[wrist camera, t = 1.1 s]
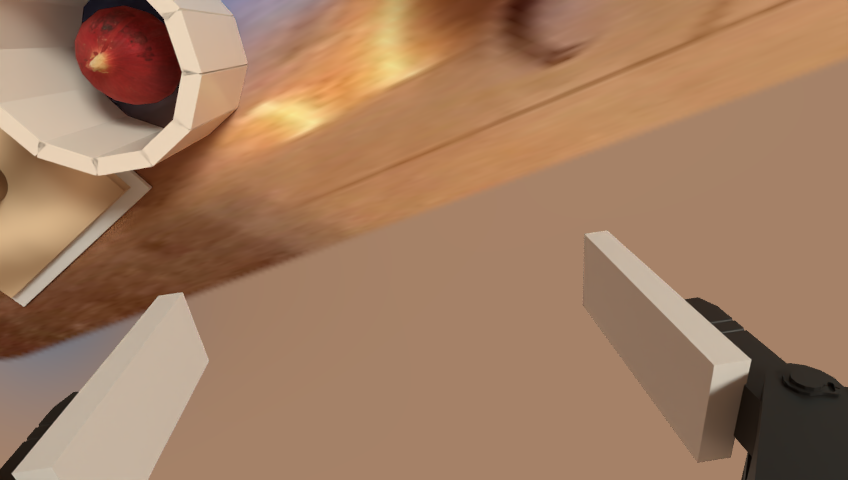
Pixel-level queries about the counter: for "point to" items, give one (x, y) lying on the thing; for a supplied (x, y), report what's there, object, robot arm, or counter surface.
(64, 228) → the oak cover
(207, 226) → the counter surface
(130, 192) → the grey mat
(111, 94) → the red round fruit
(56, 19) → the ceramic bowl
